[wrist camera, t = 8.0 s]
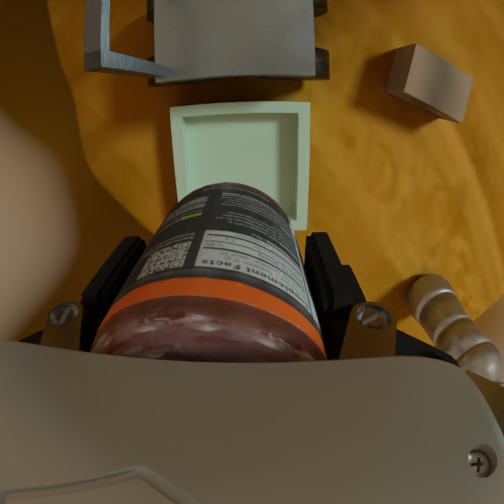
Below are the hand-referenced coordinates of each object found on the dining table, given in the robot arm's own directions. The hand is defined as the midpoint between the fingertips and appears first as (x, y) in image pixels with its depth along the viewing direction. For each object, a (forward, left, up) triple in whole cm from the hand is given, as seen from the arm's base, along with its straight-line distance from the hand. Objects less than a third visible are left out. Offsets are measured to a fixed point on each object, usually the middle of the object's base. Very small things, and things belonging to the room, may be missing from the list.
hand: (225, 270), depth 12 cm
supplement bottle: (0, 0, -3) cm, 3 cm away
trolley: (0, -12, -19) cm, 23 cm away
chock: (-18, -9, -19) cm, 28 cm away
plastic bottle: (-23, +16, -20) cm, 34 cm away
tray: (0, 0, -19) cm, 19 cm away
